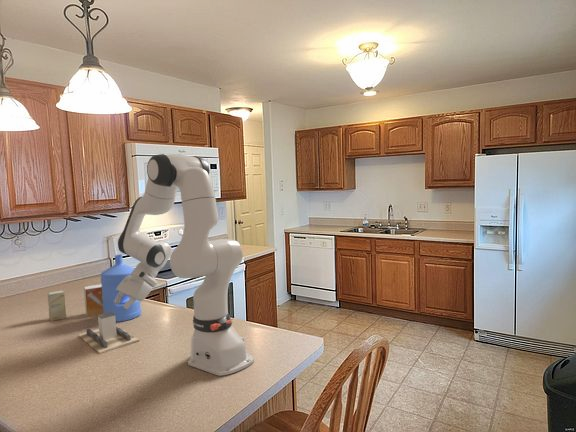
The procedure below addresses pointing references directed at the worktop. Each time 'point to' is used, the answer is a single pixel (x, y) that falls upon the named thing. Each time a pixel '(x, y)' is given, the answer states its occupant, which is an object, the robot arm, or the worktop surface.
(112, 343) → the rail board
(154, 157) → the robot arm
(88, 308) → the small box
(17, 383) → the worktop surface
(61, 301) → the skincare box
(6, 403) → the worktop surface
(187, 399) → the worktop surface
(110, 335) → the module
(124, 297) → the water jug
